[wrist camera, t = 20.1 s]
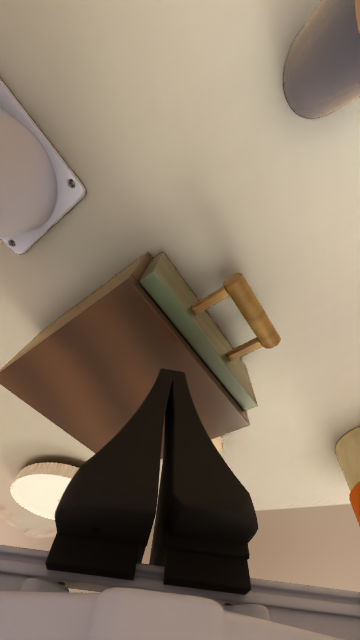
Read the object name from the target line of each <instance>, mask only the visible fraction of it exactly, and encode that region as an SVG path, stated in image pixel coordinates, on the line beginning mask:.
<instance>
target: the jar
mask: <svg viewBox="0 0 360 640" xmlns="http://www.w3.org/2000/svg"><path fill="white" fill-rule="evenodd" d="M283 87H284V93H285V96H286V99H287V102H288V104H289V105H290V107H291V108H292V109H293V110H294V112H296V113H297V114H298V115H300V116H302V117H305V118H311V119H314V118H320V117H324V116H326V115H328V114H330V113H332V112H334V111H336V110H337V109H339V108H341V107H343V106H345V105H346V104H348V103H350V102H352V101H354V100H355V99H357V98H359V97H360V0H321V2H320V3H319V5H318V6H317V8H316V9H315V11H314V12H313V14H312V15H311V16H310V18H309V19H308V21H307V22H306V24H305V25H304V27H303V28H302V30H301V31H300V33H299V34H298V36H297V37H296V39H295V40H294V42H293V44H292V46H291V48H290V50H289V53H288V56H287V59H286V62H285V67H284V74H283Z"/></svg>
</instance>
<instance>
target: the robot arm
mask: <svg viewBox="0 0 360 640" xmlns="http://www.w3.org/2000/svg"><path fill="white" fill-rule="evenodd" d="M71 180H73V181H74V182H75V187H74V188H73V187H72V186H71V185H70V181H71ZM85 193H86V190H85V187H84V186H83V184H82V183H81V182H80V180H79V179H78V178H77V177H76V175H75V174H74V173H73V171H72V170H71V169H70V168H69V166H68V165H67V164H66V162H65V161H64V160H63V159H62V157H61V156H60V155H59V153H58V152H57V151H56V150H55V148H54V147H53V146H52V144H51V143H50V142H49V141H48V139H47V138H46V137H45V135H44V134H43V133H42V132H41V130H40V129H39V128H38V126H37V125H36V124H35V123H34V121H33V120H32V119H31V117H30V116H29V115H28V114H27V112H26V111H25V110H24V108H23V107H22V106H21V105H20V103H19V102H18V101H17V99H16V98H15V97H14V95H13V94H12V93H11V92H10V90H9V89H8V88H7V86H6V85H5V84H4V83H3V81H2V80H1V79H0V239H1V240H2V241H3V242H4V243H5V244H6V245H7V246H8V247H9V248H10V249H11V250H12V251H13V252H14V253H16V254H18V255H21V254H23V253H25V252H26V251H27V250H28V249H29V248H30V247H32V246H33V245H34V244H35V243H36V242H37V241H38V240H39V239H40V238H41V237H42V236H43V235H44V234H45V233H46V232H47V231H48V230H49V229H50V228H52V227H53V226H54V225H55V224H56V223H57V222H58V221H59V220H60V219H61V218H62V217H63V216H64V215H65V214H66V213H67V212H68V211H69V210H70V209H72V208H73V207H74V206H75V205H76V204H77V203H78V202H79V201H80V200H81V199H82V198H83V197H84V196H85ZM12 240H13V241H14V242H15V245H14V244H13V243H12ZM164 416H165V423H164ZM163 426H164V449H163V464H162V472H161V480H160V488H159V496H158V485H159V471H160V458H161V447H162V436H163ZM157 498H158V504H157ZM156 507H157V511H156ZM155 515H156V519H155V526H154V534H153V541H152V548H151V556H150V563H149V564H142V563H141V562H142V558H143V554H144V551H145V547H146V546H147V543H148V539H149V536H150V532H151V529H152V525H153V522H154V518H155ZM55 522H56V528H57V534H56V537H55V539H54V542H53V544H52V547H51V549H50V551H43V550H35V549H28V548H20V547H12V546H5V545H0V640H360V592H354V591H346V590H338V589H331V588H324V587H316V586H309V585H301V584H292V583H286V582H278V581H271V580H263V579H255V578H250V576H249V570H248V562H247V560H248V559H249V550H248V542H249V541H250V540H251V539H252V538H253V536H254V535H255V533H256V532H257V530H258V523H257V518H256V513H255V510H254V506H253V503H252V500H251V497H250V494H249V492H248V491H247V490H246V489H245V488H244V486H243V485H242V484H241V483H240V481H239V480H238V479H237V478H236V476H235V475H234V474H233V472H232V471H231V469H230V468H229V467H228V465H227V464H226V463H225V461H224V459H223V458H222V456H221V455H220V453H219V452H218V450H217V449H216V447H215V446H214V444H213V442H212V440H211V439H210V437H209V435H208V433H207V431H206V429H205V428H204V426H203V424H202V421H201V419H200V417H199V415H198V412H197V410H196V408H195V405H194V402H193V400H192V397H191V394H190V391H189V387H188V384H187V379H186V374H185V373H184V372H181V371H175V370H169V369H164V368H162V369H160V371H159V374H158V377H157V379H156V381H155V383H154V385H153V387H152V389H151V390H150V392H149V394H148V395H147V397H146V398H145V400H144V401H143V403H142V404H141V406H140V407H139V408H138V410H137V411H136V412H135V414H134V415H133V416H132V417H131V419H130V420H129V421H128V422H127V423H126V424H125V425H124V427H123V428H122V429H121V430H120V431H119V432H118V433H117V434H116V435H115V436H114V437H113V438H112V439H111V440H110V441H109V442H108V443H107V444H106V445H105V446H104V447H103V448H102V449H101V450H100V451H98V452H97V453H96V454H95V455H94V456H93V457H91V458H90V459H89V460H88V461H87V462H85V463H84V464H83V465H82V466H81V467H80V468H79V469H78V471H77V472H76V473H75V475H74V476H73V478H72V479H71V481H70V482H69V484H68V486H67V487H66V489H65V491H64V493H63V495H62V497H61V499H60V501H59V504H58V506H57V509H56V511H55ZM68 588H72V589H80V590H88V591H96V592H102V593H70V592H69V590H68ZM222 607H224V608H222Z"/></svg>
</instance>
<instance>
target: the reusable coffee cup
mask: <svg viewBox="0 0 360 640" xmlns="http://www.w3.org/2000/svg"><path fill="white" fill-rule="evenodd" d="M335 453H336V456H337V458H338V461H339V463H340V466H341V468H342V471H343V473H344V476H345V478H346V481H347V483H348V486H349V488H350V491H351V493H350V502H351V505H352V507H353V510H354V512H355V515H356V518H357V520H358V523H359V526H360V427H357V428H355V429H353V430H351V431H349V432H348V433H347V434H345V435H344V436H343V437H342V438H341V439H340V440H339V441H338V443H337V444H336V448H335Z"/></svg>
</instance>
